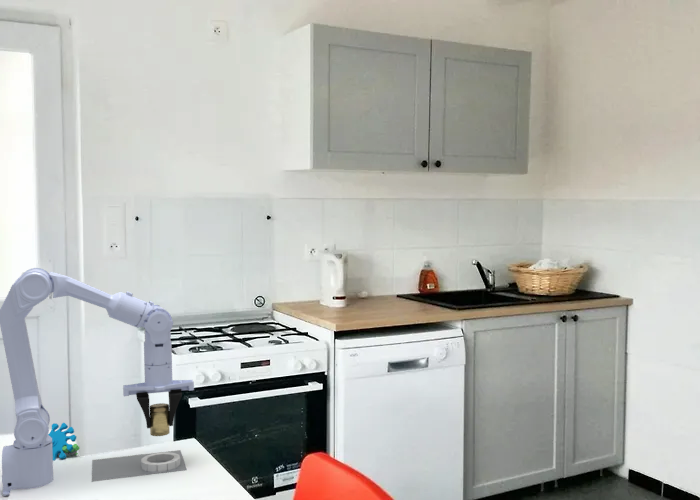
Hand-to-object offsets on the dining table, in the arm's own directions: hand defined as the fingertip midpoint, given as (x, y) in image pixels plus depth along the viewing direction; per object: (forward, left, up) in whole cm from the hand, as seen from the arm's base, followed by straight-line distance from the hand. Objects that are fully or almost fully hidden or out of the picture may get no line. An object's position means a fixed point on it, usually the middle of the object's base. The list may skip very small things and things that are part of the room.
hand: (159, 425), depth 158 cm
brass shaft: (0, 0, -2) cm, 2 cm away
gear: (-22, +15, -10) cm, 28 cm away
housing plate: (-5, +2, -10) cm, 11 cm away
